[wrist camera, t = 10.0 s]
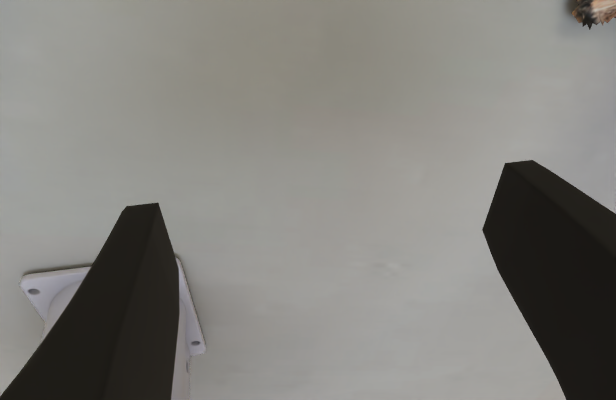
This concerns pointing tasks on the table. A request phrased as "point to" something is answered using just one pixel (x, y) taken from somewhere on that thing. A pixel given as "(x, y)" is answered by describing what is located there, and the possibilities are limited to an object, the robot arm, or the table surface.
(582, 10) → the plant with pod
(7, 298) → the table surface
